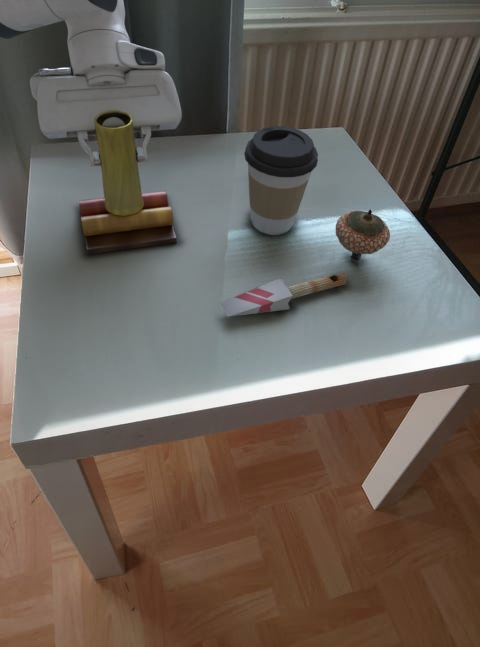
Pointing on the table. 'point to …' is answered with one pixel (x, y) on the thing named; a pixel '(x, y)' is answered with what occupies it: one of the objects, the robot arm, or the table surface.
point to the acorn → (362, 233)
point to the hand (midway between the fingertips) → (119, 163)
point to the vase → (119, 165)
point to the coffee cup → (278, 176)
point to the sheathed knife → (277, 295)
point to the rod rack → (127, 225)
